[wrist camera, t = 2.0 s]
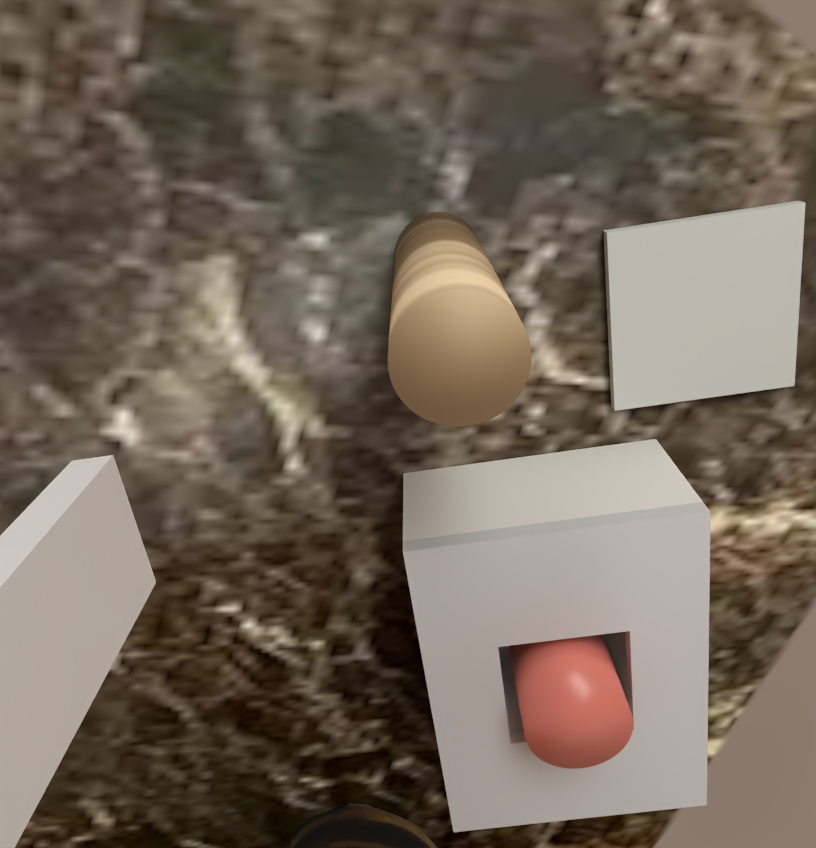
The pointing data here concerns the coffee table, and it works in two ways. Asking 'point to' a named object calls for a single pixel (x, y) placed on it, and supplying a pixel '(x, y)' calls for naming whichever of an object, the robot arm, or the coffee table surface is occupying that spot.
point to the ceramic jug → (360, 830)
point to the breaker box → (562, 623)
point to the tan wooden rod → (452, 326)
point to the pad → (703, 305)
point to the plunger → (571, 701)
